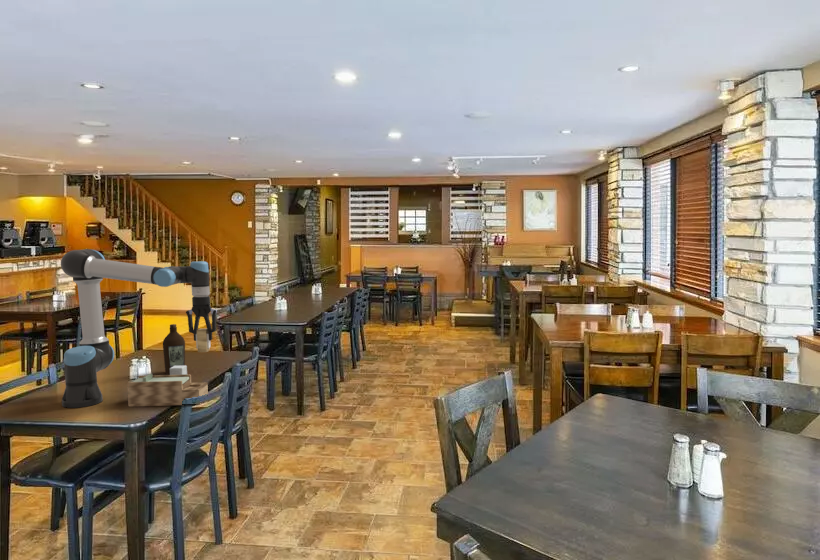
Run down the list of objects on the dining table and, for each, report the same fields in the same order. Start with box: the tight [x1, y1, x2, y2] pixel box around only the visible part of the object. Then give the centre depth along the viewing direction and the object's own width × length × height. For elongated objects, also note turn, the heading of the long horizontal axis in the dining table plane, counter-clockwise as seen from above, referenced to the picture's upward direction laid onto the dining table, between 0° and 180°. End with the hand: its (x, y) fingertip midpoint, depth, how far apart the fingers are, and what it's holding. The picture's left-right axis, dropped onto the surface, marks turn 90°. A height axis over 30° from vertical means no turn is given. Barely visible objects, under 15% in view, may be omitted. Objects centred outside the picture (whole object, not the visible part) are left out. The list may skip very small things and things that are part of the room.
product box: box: [170, 364, 188, 375], centre depth 282 cm, size 6×6×7 cm
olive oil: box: [162, 323, 186, 375], centre depth 299 cm, size 11×11×25 cm
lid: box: [132, 373, 189, 384], centre depth 248 cm, size 21×9×3 cm, turn 93°
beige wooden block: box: [197, 327, 210, 353], centre depth 263 cm, size 4×4×10 cm
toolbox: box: [126, 373, 209, 407], centre depth 249 cm, size 29×12×10 cm, turn 93°
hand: (203, 347), depth 263 cm, fingers closed on beige wooden block, 4 cm apart
